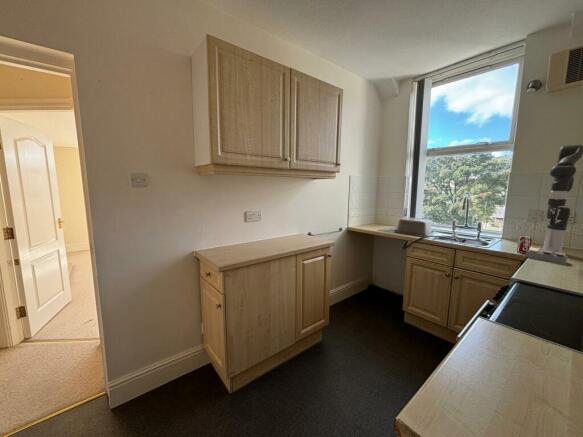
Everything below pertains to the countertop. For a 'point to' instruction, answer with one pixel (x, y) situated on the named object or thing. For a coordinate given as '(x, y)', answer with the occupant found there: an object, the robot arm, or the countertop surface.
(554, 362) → the countertop surface
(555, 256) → the power strip
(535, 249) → the rocker
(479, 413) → the countertop surface
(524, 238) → the soda can
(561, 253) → the rocker
